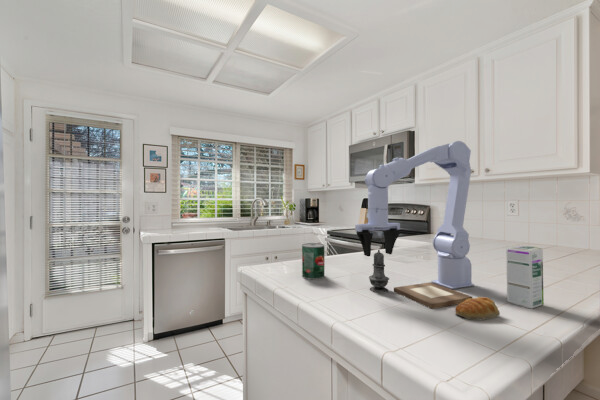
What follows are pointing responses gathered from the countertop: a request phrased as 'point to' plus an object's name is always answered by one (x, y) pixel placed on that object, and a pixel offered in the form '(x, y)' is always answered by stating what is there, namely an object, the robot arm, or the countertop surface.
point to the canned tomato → (313, 261)
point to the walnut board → (432, 295)
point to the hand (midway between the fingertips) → (378, 254)
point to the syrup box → (525, 276)
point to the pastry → (477, 308)
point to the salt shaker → (378, 274)
